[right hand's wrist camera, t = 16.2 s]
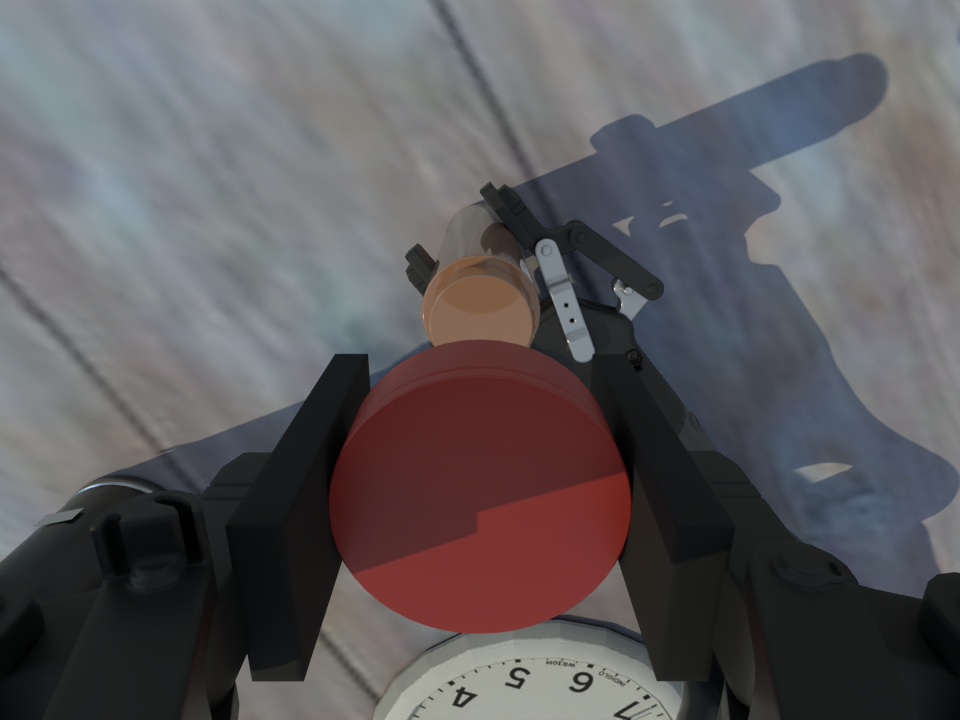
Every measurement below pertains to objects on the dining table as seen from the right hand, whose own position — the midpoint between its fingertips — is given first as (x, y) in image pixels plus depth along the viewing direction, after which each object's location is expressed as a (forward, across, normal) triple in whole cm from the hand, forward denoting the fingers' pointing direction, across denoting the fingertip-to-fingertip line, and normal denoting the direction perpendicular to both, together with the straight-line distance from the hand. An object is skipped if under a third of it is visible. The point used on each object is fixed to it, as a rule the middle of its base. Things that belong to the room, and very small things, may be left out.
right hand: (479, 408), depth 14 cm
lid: (-4, 0, 0) cm, 4 cm away
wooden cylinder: (+26, 0, 0) cm, 26 cm away
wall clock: (+26, +5, -46) cm, 53 cm away
